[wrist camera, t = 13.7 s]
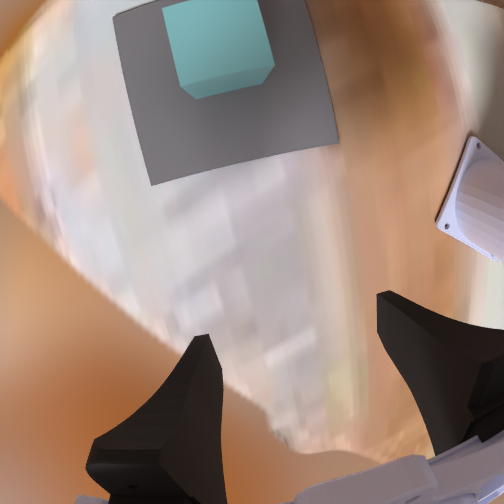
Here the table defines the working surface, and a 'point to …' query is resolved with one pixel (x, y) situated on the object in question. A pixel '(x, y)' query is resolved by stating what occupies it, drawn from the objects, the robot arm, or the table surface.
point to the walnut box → (494, 2)
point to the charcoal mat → (224, 96)
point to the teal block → (218, 45)
